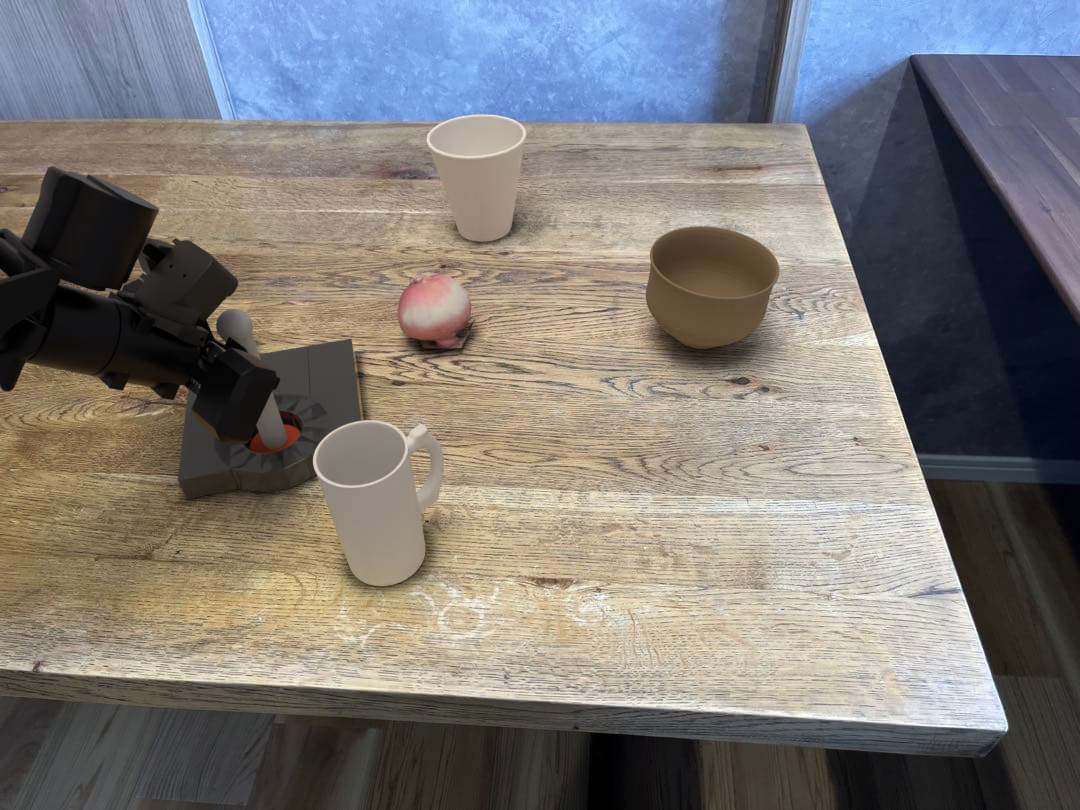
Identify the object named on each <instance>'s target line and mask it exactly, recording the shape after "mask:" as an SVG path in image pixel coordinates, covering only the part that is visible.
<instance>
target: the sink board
mask: <svg viewBox="0 0 1080 810" xmlns="http://www.w3.org/2000/svg"><path fill="white" fill-rule="evenodd" d="M259 355H260V358H261V361H263V362H264V363H265V364H267V365H268V366H269V367H271V368H272V369H273V370H275V371H276V376H278V377H279V378H280V382H279V384H278V386H277V388H276V389H275V390H273V391H272V393H273V396H274V399H275V402H276V405H277V408H278V411H279V413H280V416H281V419H282V422H283V424H285V425H291V426H293V427H295V428H297V429H298V430H299V431H300V433H301V434H300V436H299V438H298V439H297V440H296V441H295V442H293V443H292V444H291V445H290V446H288V447H286V448H284V449H282V450H280V451H275V452H270V453H256V452H253V451H251V448H250V446H251V442H252V440H253V438H254V437H255V436H256V435H257V434H258V433H259V431H258V428H257V426H256V427H255V429H254V431H253V433H252V435H251V437H250V439H249V441H248V442H247V443H245V444H242V445H238V444H231V443H224V442H220V441H219V440H218V439H216V438H215V437H214V436H213V435H212V434H211V433H210V432H208V431H207V430H206V429H205V428H204V427H203V426H201V425H200V424H199V423H198V422H197V421H196V419H195V416H194V414H193V412H192V409H191V408H192V406H193V404H194V402H195V400H196V396H195V395H194V394H193V393H192V392H190V391H189V390H188V389H187V398H186V406H185V412H184V413H185V414H184V422H183V423H184V424H183V431H182V439H181V440H182V441H181V447H180V457H179V464H178V473H177V482H178V484H179V486H180V489H181V490H182V492H183V494H184V497H185V498H186V499H187V500H189V499H194V498H199V497H205V496H208V495H209V496H210V495H215V494H219V493H225V492H230V491H236V490H241V489H243V490H244V491H249V492H259V493H272V492H273V493H274V492H279V491H283V490H288V489H289V490H290V489H291V488H294V487H296V486H299V485H301V484H302V483H304V482H306V481H309V480H310V479H312V478H313V477H315V476H317V474H316V472H315V469H314V466H313V456H314V453H315V450H316V448H317V446H318V445H319V443H320V442H321V441H322V440H323V439H324V438H325V437H326V436H327V435H328V434H330V433H331V432H332V431H334V430H336V429H337V428H339V427H341V426H344V425H346V424H349V423H353V422H357V421H364V419H365V417H364V410H363V404H362V403H363V402H362V396H361V395H362V394H361V385H360V378H359V370H358V361H357V355H356V350H355V346H354V343H353V339H352V338H346V339H341V340H334V341H330V342H329V341H328V342H321V343H318V344H311V345H304V346H300V347H293V348H288V349H280V350H276V351H270V352H265V353H264V352H263V353H259Z"/></svg>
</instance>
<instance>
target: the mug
mask: <svg viewBox="0 0 1080 810" xmlns="http://www.w3.org/2000/svg"><path fill="white" fill-rule="evenodd" d="M420 449H425V450H426V451H427V453H428V454H429V460H430V464H429V471H428V475H427V477H426V480H425V481H424V483H423V484H422V486H421V488H420V489H418V490H417V487H416V482H415V476H414V470H413V469H414V468H413V464H412V458H411V457H412V455H413V454H414V453H415V452H416V451H417V450H420ZM444 460H445V459H444V452H443V448H442V445H441V444H440V442H439V441H438V440H437V439H436V437H435V436H434V435H433V434H432V433H431V432H429V430H428V426H426V425H424V424H423V423H419V424H418V425H416V426H415V427H414V428H412V429H411V430H410V431H409V433H408V435H407V436H406V435H405V433H404V432H403V431H402V430H401V429H400V428H399V427H397V426H396V425H394V424H392V423H390V422H386V421H383V420H373V419H367V420H364V421H357V422H353V423H349V424H346V425H344V426H341V427H339V428H337V429H336V430H334V431H332V432H331V433H330V434H328V435H327V436H326V437H325V438H324V439H323V440H322V441H321V442H320V443H319V445H318V446H317V448H316V450H315V453H314V456H313V466H314V469H315V472H316V477H317V481H318V483H319V486H320V489H321V492H322V495H323V497H324V501H325V503H326V506H327V509H328V511H329V515H330V517H331V520H332V522H333V525H334V528H335V531H336V534H337V537H338V540H339V542H340V546H341V548H342V551H343V553H344V556H345V559H346V561H347V563H348V566H349V569H350V571H351V572H352V574H353V575H354V577H355V578H356V579H358V580H359V581H361V582H362V583H363V584H364V583H365V584H367V585H369V586H373V587H374V586H375V587H388V586H393V585H396V584H399V583H401V582H404V581H406V580H407V579H409V578H410V577H412V576H413V575H414V574H415V573H416V572H417V571H418V570H419V569H420V567H421V566H422V565H423V562H424V560H425V558H426V557H425V556H426V541H425V535H424V529H423V522H422V514H423V513H424V512H425V510H426V509H428V508H430V507H431V506H432V505H434V504H435V503H437V501H438V500H439V497H440V496H439V495H440V491H441V486H442V481H443V474H444V466H445V464H444V463H445V461H444Z"/></svg>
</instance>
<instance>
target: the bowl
mask: <svg viewBox="0 0 1080 810" xmlns="http://www.w3.org/2000/svg"><path fill="white" fill-rule="evenodd" d="M649 261H650V267H649V274H648V279H647V284H646V288H645V289H646V290H645V301H646V306H647V308H648V311H649V312H650V315H651V316H652V318H653V319H654V321H655V322H656V323H657V324H658V325H659V327H660V328H661V329H663V330H664V332H666V333H667V334H668V335H669V336H672V338H674V339H676V340H677V341H678V342H679V343H680V344H682V345H684V346H686V347H688V348H689V347H690V348H691V349H692V348H693V349H695V350H708V349H714V348H716V347H722V346H727V345H731V344H733V343H736V342H738V341H740V340H742V339H745V338H746V337H747V336H750V335H751V334H752V333H754V331H756V330H757V329H758V328H759V327H760V325H761V324H762V322H763V321H764V318H765V316H766V313H767V309H768V305H769V300H770V297H771V294H772V292H773V288H774V287H775V285H776V284H777V282H778V280H779V278H780V277H779V276H780V270H781V269H780V265H779V262H778V260H777V258H776V256H775V255H774V254H773V253H772V251H771V250H770V249H769V248H768V247H766V246H765V245H764V244H763V243H761V242H759V241H758V240H756V239H754V238H753V237H750V236H748V235H746V234H744V233H741V232H738V231H736V230H731V229H729V228H728V229H726V228H724V227H723V228H722V227H716V226H707V225H705V226H704V225H699V226H698V225H697V226H687V227H681V228H676V229H673V230H671V231H668V232H665V233H664V234H662V235H661V236H659V237H658V238H657V239H656V240H655V241H654V242H653V244H652V245H651V248H650V251H649Z"/></svg>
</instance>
